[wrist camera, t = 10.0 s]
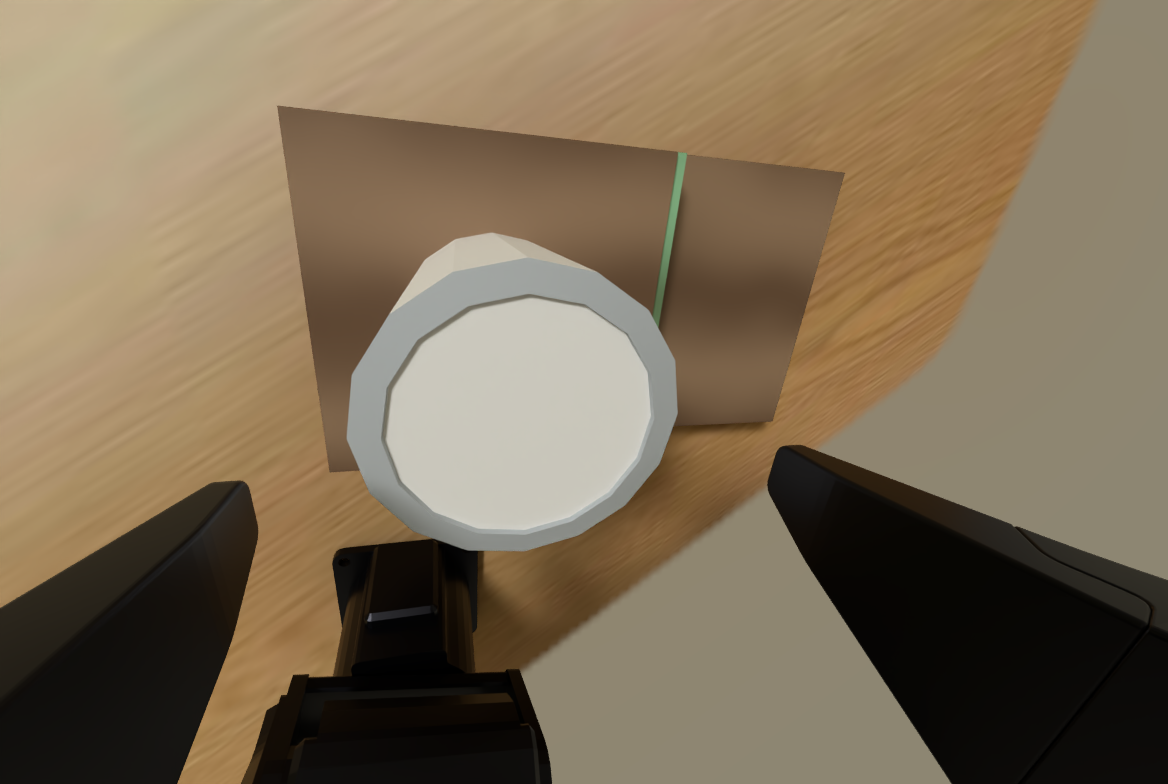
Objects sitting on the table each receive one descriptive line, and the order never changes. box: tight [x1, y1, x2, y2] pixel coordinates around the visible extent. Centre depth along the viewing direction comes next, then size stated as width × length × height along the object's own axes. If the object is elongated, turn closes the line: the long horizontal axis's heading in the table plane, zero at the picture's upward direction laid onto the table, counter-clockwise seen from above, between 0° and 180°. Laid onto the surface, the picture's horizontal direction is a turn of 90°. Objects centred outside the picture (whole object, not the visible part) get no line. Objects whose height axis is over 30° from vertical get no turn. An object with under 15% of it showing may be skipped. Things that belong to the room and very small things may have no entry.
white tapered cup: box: [347, 233, 678, 551], centre depth 13 cm, size 7×7×7 cm
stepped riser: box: [277, 106, 845, 472], centre depth 19 cm, size 11×19×4 cm, turn 84°
